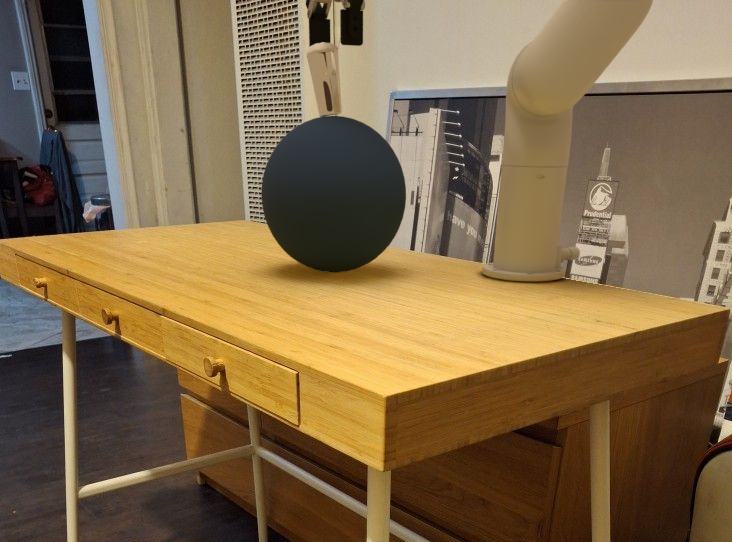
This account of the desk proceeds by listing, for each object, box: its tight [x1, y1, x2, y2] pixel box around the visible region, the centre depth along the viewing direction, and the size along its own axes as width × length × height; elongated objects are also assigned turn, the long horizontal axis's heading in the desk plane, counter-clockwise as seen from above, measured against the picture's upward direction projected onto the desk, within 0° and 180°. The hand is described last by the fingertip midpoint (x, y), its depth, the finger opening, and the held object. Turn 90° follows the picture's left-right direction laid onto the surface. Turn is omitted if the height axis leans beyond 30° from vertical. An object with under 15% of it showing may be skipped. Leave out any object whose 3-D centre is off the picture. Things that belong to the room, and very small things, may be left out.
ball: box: [260, 115, 407, 274], centre depth 115 cm, size 22×22×22 cm
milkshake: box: [305, 40, 343, 117], centre depth 108 cm, size 4×5×10 cm
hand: (335, 48), depth 106 cm, fingers open, 9 cm apart
